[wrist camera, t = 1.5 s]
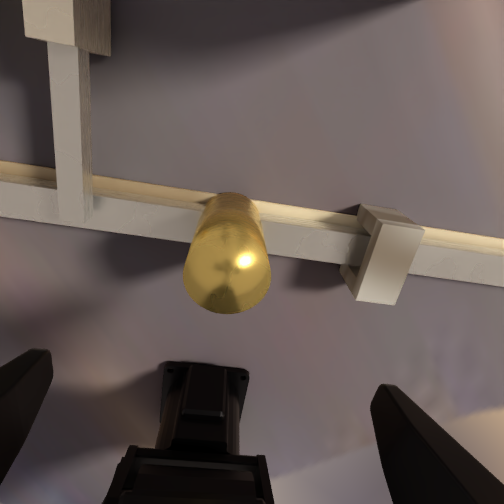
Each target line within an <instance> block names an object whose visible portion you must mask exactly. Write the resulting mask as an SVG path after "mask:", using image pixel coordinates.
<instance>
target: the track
mask: <svg viewBox="0 0 504 504" xmlns="http://www.w3.org/2000/svg"><path fill="white" fill-rule="evenodd" d="M0 173H3V174H10V175H16V176H23V177H29V178H36V179H42V180H49V181H55V182H57V177H56V169H54V168H48V167H41V166H35V165H29V164H22V163H16V162H9V161H3V160H0ZM92 179H93V187H95V188H101V189H108V190H114V191H121V192H127V193H134V194H141V195H147V196H154V197H160V198H167V199H173V200H180V201H186V202H193V203H200V204H206V203H207V202H208V201H209V200H210V199H211V198H213V197H214V196H216V195H218V194H214V193H208V192H201V191H195V190H188V189H182V188H176V187H169V186H163V185H156V184H150V183H144V182H137V181H131V180H125V179H118V178H112V177H105V176H99V175H93V174H92ZM250 200H251V201H252V202H253V203H254V204H255V205H256V207H257V208H258V211H259V213H265V214H272V215H278V216H285V217H291V218H298V219H304V220H311V221H317V222H324V223H331V224H337V225H344V226H350V227H357V228H363V229H366V230H367V231H368V232H369V233H370V234H371V238H370V241H369V244H368V247H367V250H366V253H365V256H364V258H363V261H362V264H361V267H359V266H352V265H345V264H341V266H340V270H339V272H340V274H341V275H342V277H343V279H344V281H345V282H346V284H347V286H348V287H349V289H350V291H351V293H352V294H353V296H354V298H355V300H358V301H366V302H373V303H381V304H389V305H395V303H396V300H397V298H398V296H399V293H400V291H401V288H402V286H403V283H404V281H405V279H406V276H407V274H408V271H409V269H410V266H411V264H412V262H413V259H414V257H415V254H416V252H417V249H418V247H419V245H420V242H421V240H422V238H429V239H435V240H442V241H448V242H455V243H462V244H468V245H475V246H481V247H488V248H494V249H501V250H504V239H501V238H495V237H489V236H482V235H476V234H470V233H463V232H457V231H450V230H444V229H438V228H431V227H425V226H419V225H417V224H416V223H414V222H413V221H412V220H410V219H409V218H408V217H406V216H405V215H403V214H402V213H401V212H399V211H398V210H396V209H390V208H384V207H378V206H371V205H365V204H360V206H359V209H358V213H357V216H355V215H348V214H342V213H335V212H329V211H323V210H316V209H310V208H303V207H297V206H291V205H284V204H278V203H271V202H265V201H259V200H252V199H250Z"/></svg>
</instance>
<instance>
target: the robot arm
mask: <svg viewBox="0 0 504 504" xmlns="http://www.w3.org/2000/svg"><path fill="white" fill-rule="evenodd" d="M169 368H172V369H169ZM243 375H244V376H243ZM242 376H243V377H242ZM52 379H53V365H52V357H51V352H50V351H49V350H47V349H37V348H33V349H30V350H28V351H27V352H25V353H23V354H22V355H20V356H18V357H17V358H15V359H13V360H12V361H10V362H8V363H7V364H5V365H3V366H2V367H0V485H1V483H2V481H3V479H4V478H5V476H6V474H7V472H8V471H9V469H10V467H11V465H12V463H13V462H14V460H15V458H16V456H17V455H18V453H19V451H20V449H21V448H22V446H23V444H24V442H25V440H26V438H27V436H28V434H29V431H30V429H31V427H32V425H33V423H34V420H35V418H36V416H37V413H38V411H39V409H40V407H41V404H42V402H43V400H44V398H45V395H46V393H47V391H48V389H49V386H50V384H51V382H52ZM248 383H249V372H248V371H247V370H245V369H236V368H227V367H217V366H207V365H197V364H187V363H178V362H168V363H167V364H166V365H165V368H164V375H163V387H162V399H161V411H160V423H161V424H160V428H159V432H158V437H157V441H156V445H155V449H153V448H140V447H138V446H135V445H129V448H128V450H127V452H126V455H125V457H122V459H121V462H120V463H119V464H118V465H117V468H116V471H115V474H114V477H113V480H112V483H111V486H110V488H109V491H108V493H107V495H106V497H105V499H104V501H103V502H102V504H274V499H273V494H272V489H271V484H270V478H269V473H268V468H267V463H266V458H265V455H256V456H247V455H239V423H240V418H241V414H242V409H243V405H244V400H245V396H246V391H247V387H248ZM370 411H371V416H372V421H373V426H374V431H375V436H376V441H377V445H378V450H379V455H380V459H381V464H382V468H383V472H384V475H385V478H386V482H387V485H388V488H389V492H390V495H391V498H392V501H393V504H504V484H502V483H501V482H500V481H499V480H498V479H497V478H496V477H495V476H494V475H493V474H492V473H491V472H489V471H488V470H487V469H486V468H485V467H484V466H483V465H482V464H481V463H479V461H477V460H476V459H475V458H474V457H473V456H472V455H471V454H470V453H469V452H468V451H467V450H465V449H464V448H463V447H462V446H461V445H460V444H459V443H458V442H457V441H456V440H455V439H453V438H452V437H451V436H450V435H449V434H448V433H447V432H446V431H445V430H444V429H443V428H442V427H441V426H439V425H438V424H437V423H436V422H435V421H434V420H433V419H432V418H431V417H430V416H429V415H427V414H426V413H425V412H424V411H423V410H422V409H421V408H420V407H419V406H418V405H417V404H416V403H414V402H413V401H412V400H411V399H410V398H409V397H408V396H407V395H406V394H405V393H404V392H402V391H401V390H400V389H399V388H398V387H397V386H395V385H390V384H381V385H380V386H379V387H378V389H377V391H376V393H375V395H374V397H373V400H372V402H371V406H370Z"/></svg>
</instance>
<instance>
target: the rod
mask: <svg viewBox="0 0 504 504" xmlns="http://www.w3.org/2000/svg"><path fill="white" fill-rule="evenodd" d="M22 5H23V16H24V27H25V36H26V37H29V38H33V39H37V40H40V41H44V42H47V48H48V62H49V76H50V91H51V105H52V120H53V134H54V148H55V163H56V177H57V182H55V181H49V180H42V179H36V178H29V177H23V176H16V175H10V174H3V173H0V216H1V217H9V218H16V219H23V220H30V221H37V222H44V223H51V224H59V225H66V226H73V227H80V228H87V229H94V230H101V231H109V232H116V233H123V234H130V235H137V236H144V237H152V238H159V239H166V240H173V241H180V242H187V243H191V246H190V249H189V252H188V255H187V259H186V262H185V265H184V269H183V281H184V285H185V288H186V290H187V292H188V294H189V295H190V297H191V298H192V299H193V300H194V301H195V302H196V303H197V304H198V305H200V306H201V307H203V308H205V309H207V310H209V311H212V312H215V313H220V314H234V313H239V312H243V311H245V310H248V309H250V308H252V307H253V306H255V305H256V304H257V303H259V302H260V301H261V300H262V298H263V297H264V296H265V294H266V293H267V291H268V288H269V285H270V281H271V271H270V265H269V260H268V255H267V254H273V255H280V256H287V257H294V258H302V259H309V260H316V261H323V262H330V263H337V264H345V265H352V266H359V267H361V264H362V261H363V258H364V256H365V253H366V250H367V247H368V244H369V241H370V238H371V234H370V233H369V232H368V231H367V230H366V229H363V228H357V227H350V226H344V225H337V224H331V223H324V222H317V221H311V220H304V219H298V218H291V217H285V216H278V215H272V214H265V213H259V211H258V208H257V207H256V205H255V204H254V203H253V202H252V201H251V200H250V199H249V198H247V197H246V196H244V195H241V194H238V193H232V192H227V193H222V194H218V195H216V196H214V197H213V198H211V199H210V200H209V201H208V202H207V203H206V204H200V203H193V202H186V201H180V200H173V199H167V198H160V197H154V196H147V195H141V194H134V193H127V192H121V191H114V190H108V189H101V188H95V187H93V179H92V139H91V99H90V60H89V53H94V54H99V55H104V56H109V57H111V0H22ZM408 273H409V274H416V275H423V276H430V277H437V278H445V279H452V280H459V281H466V282H473V283H480V284H487V285H495V286H502V287H504V250H501V249H494V248H488V247H481V246H475V245H468V244H462V243H455V242H448V241H442V240H435V239H429V238H422V240H421V242H420V245H419V247H418V249H417V252H416V254H415V257H414V259H413V262H412V264H411V266H410V269H409V271H408Z"/></svg>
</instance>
